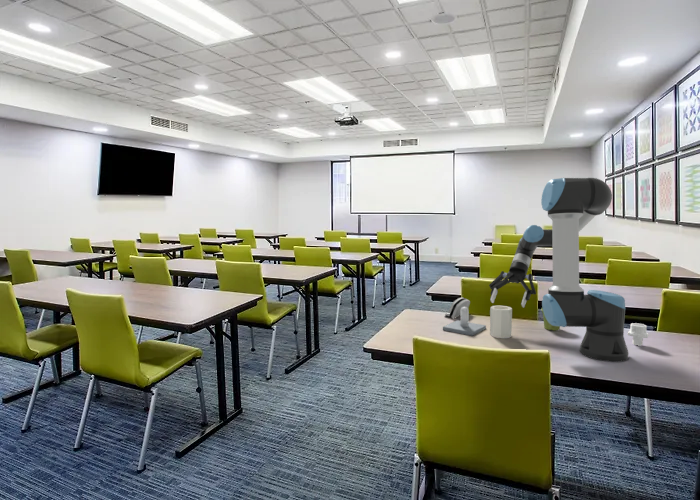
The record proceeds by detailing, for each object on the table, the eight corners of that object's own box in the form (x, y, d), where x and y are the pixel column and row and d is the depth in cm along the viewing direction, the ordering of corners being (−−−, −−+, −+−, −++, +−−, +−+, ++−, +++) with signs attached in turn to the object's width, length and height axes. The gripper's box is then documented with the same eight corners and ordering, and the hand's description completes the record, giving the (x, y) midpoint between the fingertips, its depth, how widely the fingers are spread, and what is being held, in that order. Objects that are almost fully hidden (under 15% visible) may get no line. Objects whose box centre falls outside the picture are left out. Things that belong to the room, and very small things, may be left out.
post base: (485, 328, 187) (486, 306, 186) (472, 335, 176) (472, 312, 175) (457, 323, 196) (457, 302, 195) (442, 329, 185) (442, 307, 184)
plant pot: (568, 330, 182) (569, 311, 181) (550, 332, 180) (551, 313, 179) (553, 325, 191) (554, 306, 190) (535, 326, 189) (536, 308, 188)
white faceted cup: (513, 334, 177) (514, 307, 176) (506, 339, 171) (507, 310, 170) (494, 331, 182) (495, 304, 181) (487, 335, 176) (488, 308, 175)
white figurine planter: (626, 345, 161) (627, 325, 161) (628, 341, 167) (629, 321, 166) (646, 348, 157) (647, 328, 157) (648, 344, 163) (649, 324, 162)
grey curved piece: (457, 310, 221) (464, 294, 218) (465, 314, 218) (472, 298, 215) (443, 317, 208) (450, 299, 205) (452, 321, 205) (458, 303, 202)
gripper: (550, 273, 186) (538, 312, 176) (495, 268, 202) (482, 304, 192) (546, 262, 181) (534, 302, 171) (491, 258, 198) (477, 294, 188)
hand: (506, 303), depth 182 cm, fingers open, 13 cm apart
